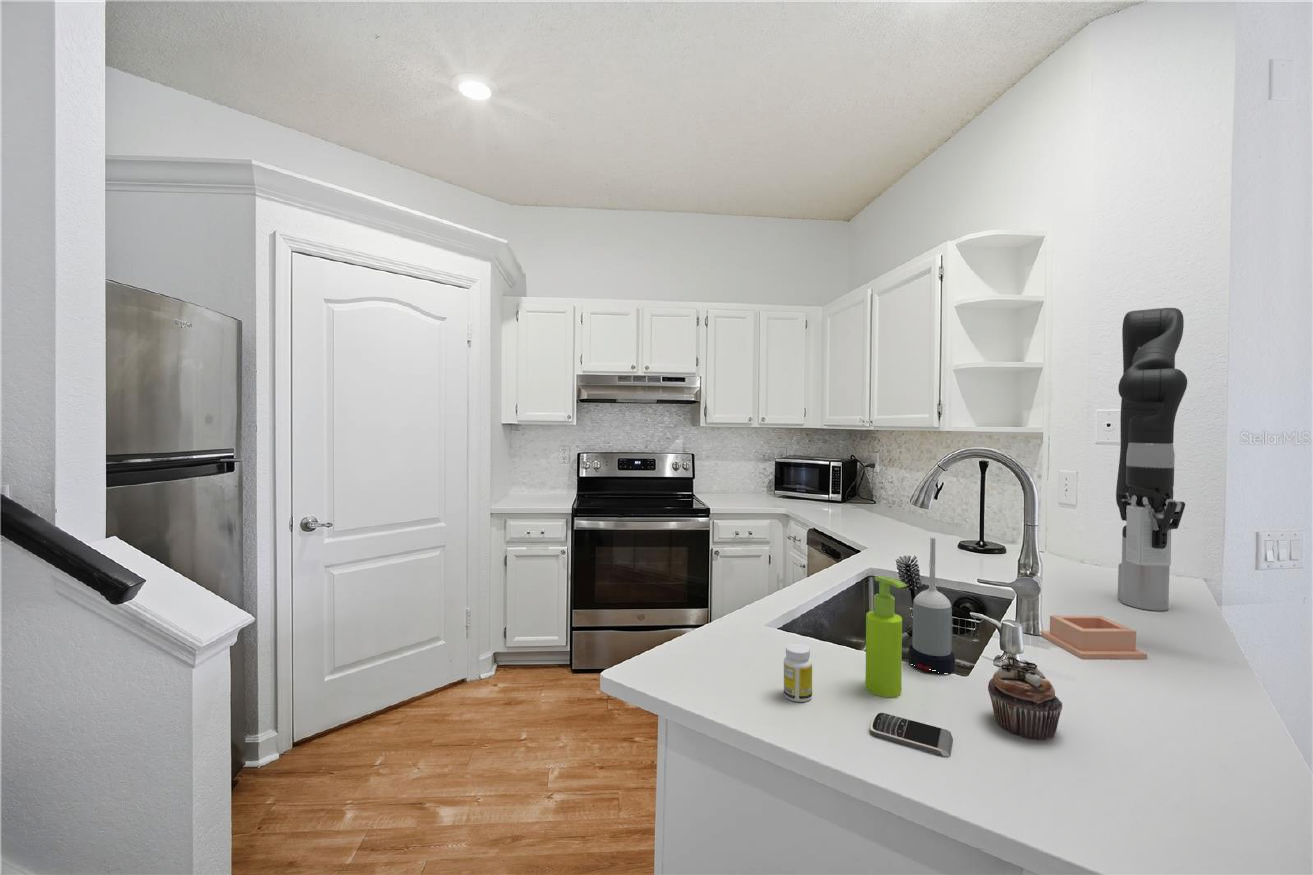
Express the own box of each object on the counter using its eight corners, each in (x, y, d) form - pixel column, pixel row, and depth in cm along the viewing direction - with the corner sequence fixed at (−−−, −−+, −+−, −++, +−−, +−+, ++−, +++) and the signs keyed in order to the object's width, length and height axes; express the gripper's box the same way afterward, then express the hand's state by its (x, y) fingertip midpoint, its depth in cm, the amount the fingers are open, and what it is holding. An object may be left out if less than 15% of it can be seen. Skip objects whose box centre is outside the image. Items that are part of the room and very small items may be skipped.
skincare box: (1154, 561, 118) (1156, 505, 117) (1171, 566, 113) (1173, 508, 113) (1124, 560, 118) (1125, 505, 118) (1139, 565, 114) (1141, 508, 113)
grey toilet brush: (915, 673, 103) (917, 541, 103) (903, 655, 111) (905, 532, 111) (961, 676, 102) (964, 543, 101) (946, 657, 110) (948, 534, 109)
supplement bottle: (812, 691, 96) (813, 644, 96) (811, 705, 92) (811, 655, 92) (785, 687, 98) (785, 641, 98) (782, 700, 93) (782, 651, 93)
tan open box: (1040, 635, 122) (1040, 613, 121) (1099, 635, 121) (1099, 613, 121) (1081, 658, 110) (1082, 634, 109) (1147, 659, 109) (1147, 634, 109)
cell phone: (875, 719, 88) (875, 710, 88) (953, 740, 82) (953, 731, 82) (867, 737, 83) (867, 728, 83) (950, 762, 77) (950, 752, 77)
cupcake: (1065, 751, 79) (1066, 682, 79) (986, 731, 84) (987, 666, 84) (1059, 720, 87) (1060, 658, 87) (987, 703, 92) (989, 645, 92)
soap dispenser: (890, 703, 92) (892, 585, 92) (858, 685, 98) (859, 575, 98) (913, 695, 95) (915, 581, 94) (881, 678, 101) (882, 571, 101)
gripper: (1201, 467, 108) (1198, 553, 108) (1137, 462, 122) (1135, 538, 123) (1163, 467, 108) (1161, 553, 108) (1104, 462, 122) (1102, 538, 123)
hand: (1147, 545), depth 116 cm, fingers closed on skincare box, 4 cm apart
